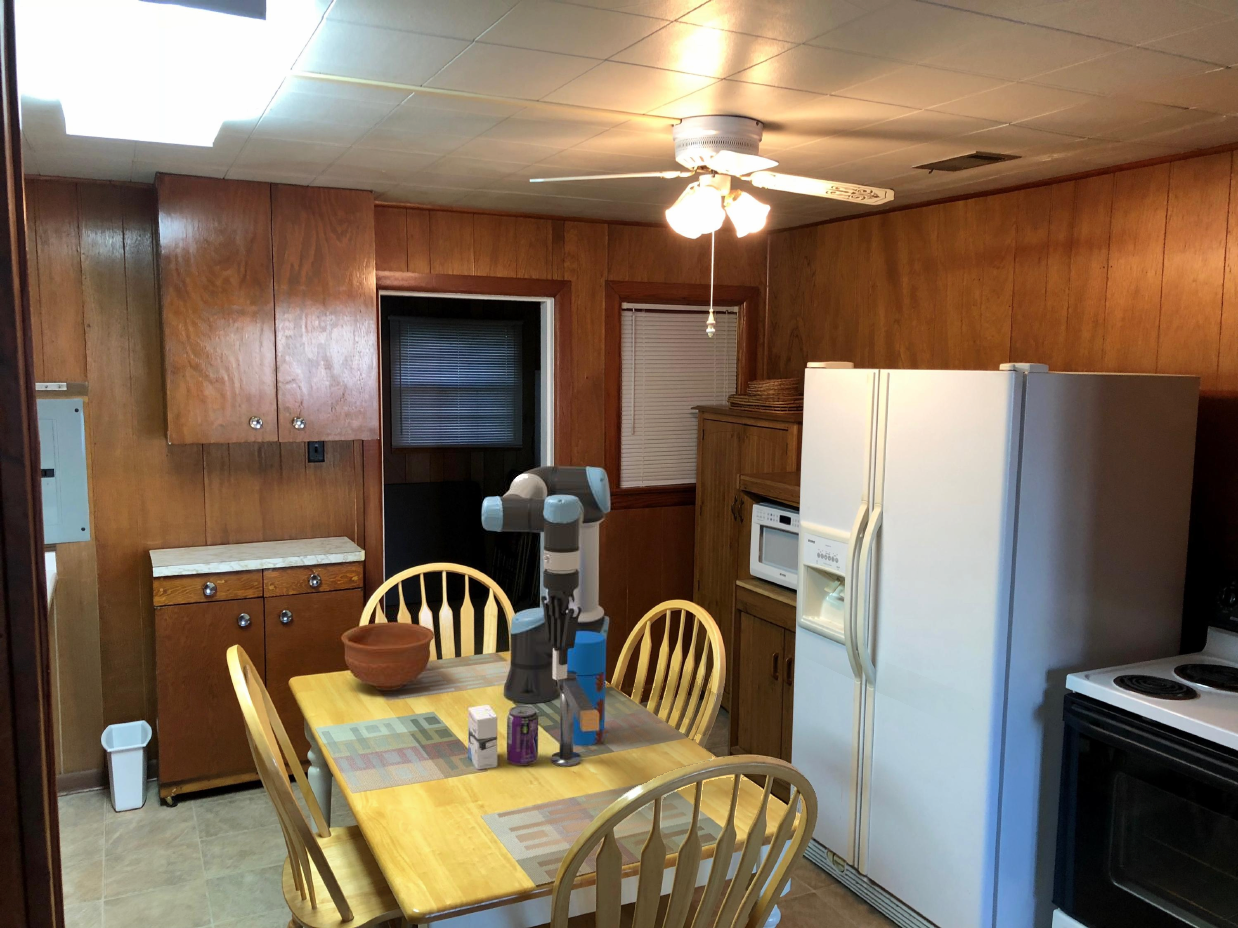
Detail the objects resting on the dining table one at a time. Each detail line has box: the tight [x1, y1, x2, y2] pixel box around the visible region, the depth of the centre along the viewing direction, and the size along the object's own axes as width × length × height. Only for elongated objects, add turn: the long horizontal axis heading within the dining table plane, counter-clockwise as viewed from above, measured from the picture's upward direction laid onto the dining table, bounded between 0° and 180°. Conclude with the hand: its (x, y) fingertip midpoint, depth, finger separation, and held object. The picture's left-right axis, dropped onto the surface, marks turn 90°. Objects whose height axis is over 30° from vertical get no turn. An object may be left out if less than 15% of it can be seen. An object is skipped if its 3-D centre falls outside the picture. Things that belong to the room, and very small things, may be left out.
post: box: [550, 690, 582, 768], centre depth 219 cm, size 7×7×16 cm
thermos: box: [567, 631, 607, 747], centre depth 233 cm, size 11×11×25 cm
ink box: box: [467, 704, 498, 770], centre depth 218 cm, size 8×5×12 cm, turn 23°
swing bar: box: [557, 670, 599, 731], centre depth 207 cm, size 28×4×4 cm, turn 14°
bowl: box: [341, 621, 435, 691], centre depth 267 cm, size 25×25×15 cm
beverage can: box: [506, 705, 539, 766], centre depth 219 cm, size 7×7×12 cm
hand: (559, 677), depth 204 cm, fingers closed
